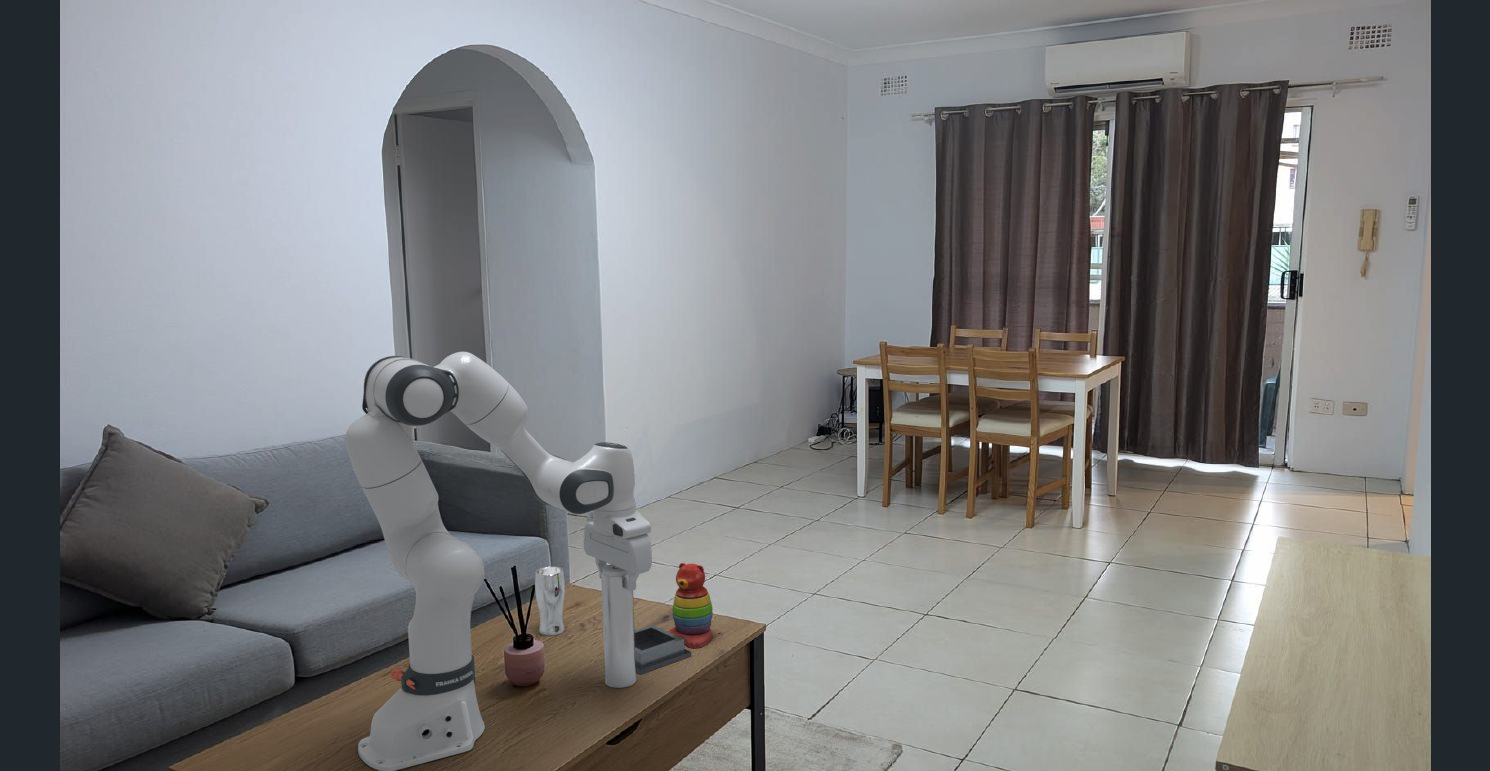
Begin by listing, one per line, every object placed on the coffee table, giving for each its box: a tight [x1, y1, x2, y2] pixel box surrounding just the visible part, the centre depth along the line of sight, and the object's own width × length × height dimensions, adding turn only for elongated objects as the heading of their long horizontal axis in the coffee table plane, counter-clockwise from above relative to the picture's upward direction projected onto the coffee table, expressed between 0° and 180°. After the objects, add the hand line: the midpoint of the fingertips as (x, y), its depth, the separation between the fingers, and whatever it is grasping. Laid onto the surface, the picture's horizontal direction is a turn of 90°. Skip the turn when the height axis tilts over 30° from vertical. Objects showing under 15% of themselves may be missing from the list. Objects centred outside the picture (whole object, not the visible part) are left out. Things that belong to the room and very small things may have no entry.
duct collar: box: [634, 624, 692, 675], centre depth 217 cm, size 14×14×4 cm
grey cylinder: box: [600, 564, 637, 689], centre depth 203 cm, size 6×6×25 cm
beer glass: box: [534, 566, 566, 637], centre depth 232 cm, size 7×7×15 cm
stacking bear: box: [668, 562, 713, 649], centre depth 226 cm, size 11×10×18 cm
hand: (617, 584), depth 202 cm, fingers open, 8 cm apart
